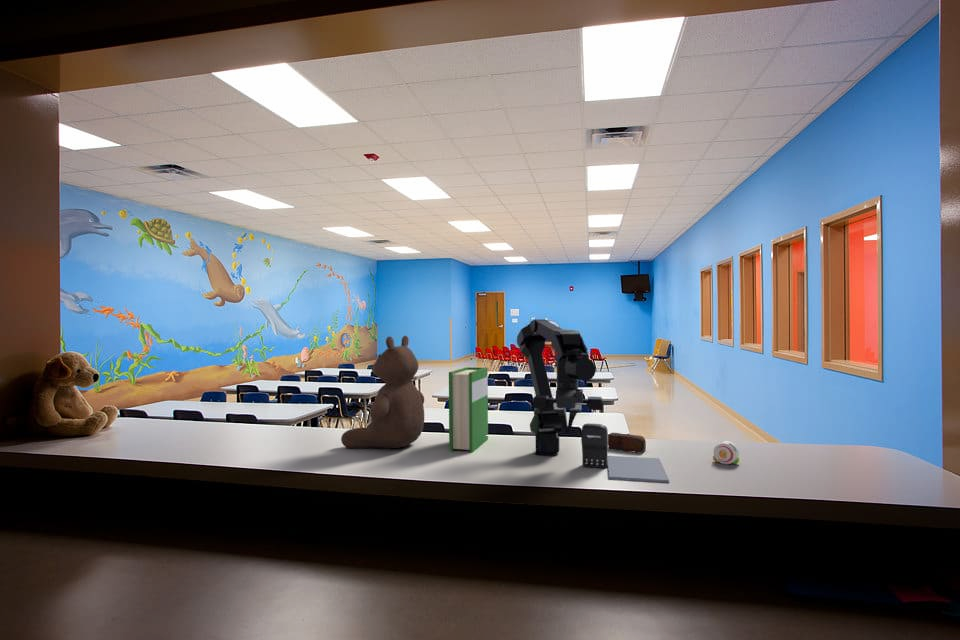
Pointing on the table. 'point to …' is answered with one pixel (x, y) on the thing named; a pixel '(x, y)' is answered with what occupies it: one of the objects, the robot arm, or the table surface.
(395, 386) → the stuffed bear
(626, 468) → the mat
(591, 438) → the battery charger
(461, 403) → the hardback book
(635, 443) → the brick
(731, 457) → the sushi roll
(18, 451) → the table surface
